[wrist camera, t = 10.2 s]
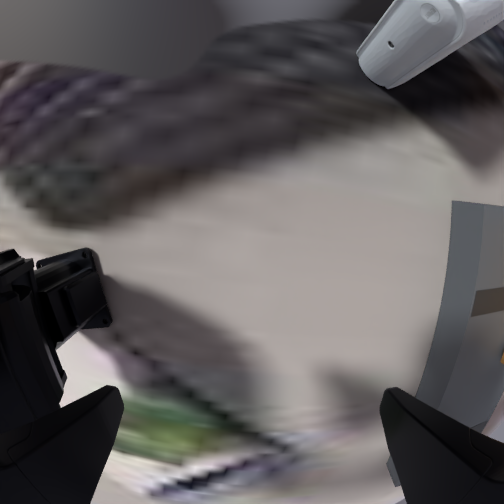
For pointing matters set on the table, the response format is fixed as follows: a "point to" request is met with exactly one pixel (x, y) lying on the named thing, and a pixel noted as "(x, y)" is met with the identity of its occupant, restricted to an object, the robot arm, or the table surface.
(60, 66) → the table surface
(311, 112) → the table surface
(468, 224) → the switch box
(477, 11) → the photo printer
